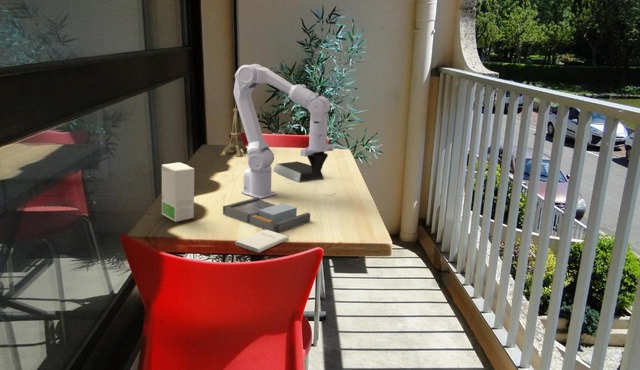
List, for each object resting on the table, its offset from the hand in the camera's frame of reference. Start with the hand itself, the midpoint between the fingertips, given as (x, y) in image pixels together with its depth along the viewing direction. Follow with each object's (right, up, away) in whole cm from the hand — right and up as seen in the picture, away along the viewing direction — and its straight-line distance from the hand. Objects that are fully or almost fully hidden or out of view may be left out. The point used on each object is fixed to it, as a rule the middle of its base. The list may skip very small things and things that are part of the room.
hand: (316, 174), depth 178 cm
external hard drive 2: (-8, 0, +36) cm, 37 cm away
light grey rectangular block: (-12, -14, -17) cm, 25 cm away
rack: (-15, -13, -15) cm, 25 cm away
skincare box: (-41, -13, -18) cm, 47 cm away
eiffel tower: (-38, +11, +68) cm, 78 cm away
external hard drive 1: (-14, -19, -34) cm, 42 cm away
